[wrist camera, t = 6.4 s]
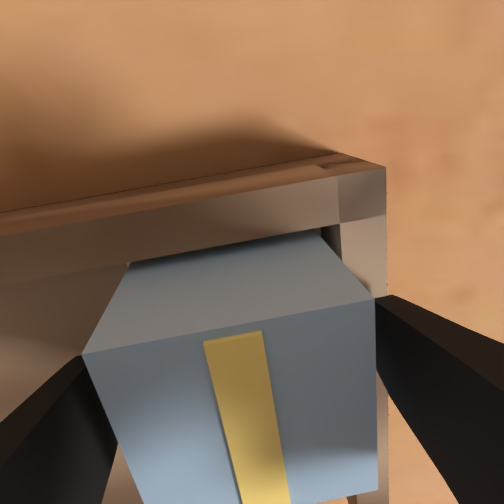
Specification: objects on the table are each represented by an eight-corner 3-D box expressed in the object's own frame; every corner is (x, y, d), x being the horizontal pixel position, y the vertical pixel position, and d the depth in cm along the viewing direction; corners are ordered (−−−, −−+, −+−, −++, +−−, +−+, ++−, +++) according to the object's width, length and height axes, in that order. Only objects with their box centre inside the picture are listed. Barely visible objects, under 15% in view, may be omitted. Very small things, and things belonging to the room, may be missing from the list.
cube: (317, 350, 12) (379, 494, 8) (178, 377, 12) (157, 541, 8) (303, 217, 11) (377, 301, 6) (139, 246, 10) (79, 357, 6)
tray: (357, 453, 17) (389, 526, 14) (62, 515, 16) (28, 606, 13) (340, 152, 11) (385, 167, 8) (-103, 230, 11) (-222, 276, 8)
